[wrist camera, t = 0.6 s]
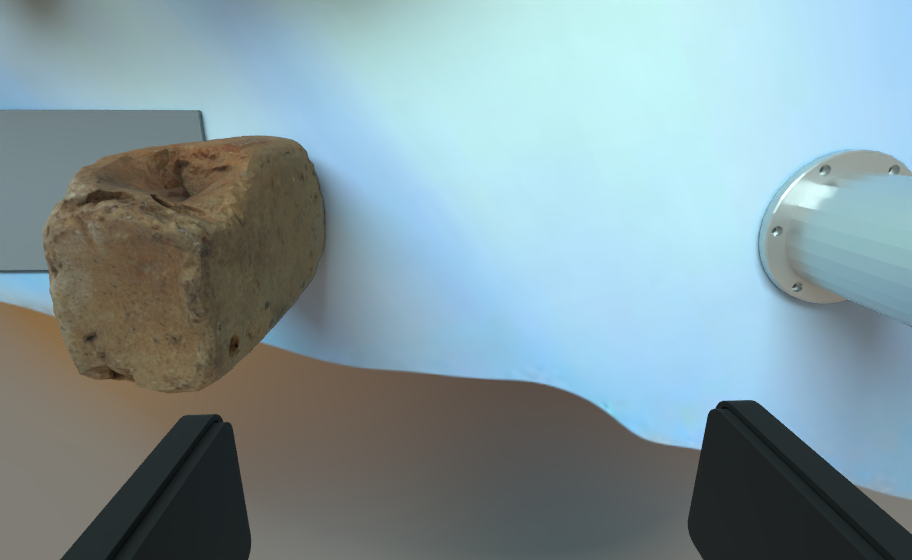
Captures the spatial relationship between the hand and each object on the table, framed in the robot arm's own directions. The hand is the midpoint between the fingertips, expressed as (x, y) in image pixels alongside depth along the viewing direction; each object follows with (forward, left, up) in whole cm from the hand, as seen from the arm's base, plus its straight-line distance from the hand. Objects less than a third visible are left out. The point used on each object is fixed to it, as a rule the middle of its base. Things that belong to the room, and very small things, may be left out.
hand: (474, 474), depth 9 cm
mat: (+27, -1, -31) cm, 41 cm away
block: (+13, 0, -31) cm, 34 cm away
